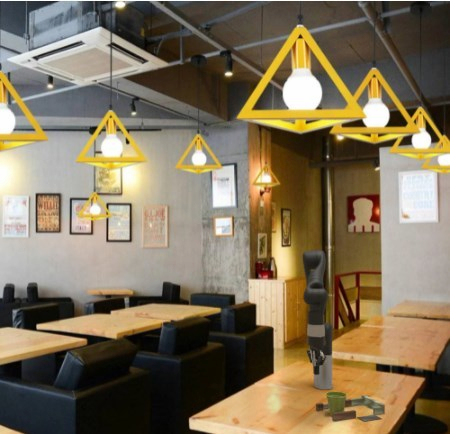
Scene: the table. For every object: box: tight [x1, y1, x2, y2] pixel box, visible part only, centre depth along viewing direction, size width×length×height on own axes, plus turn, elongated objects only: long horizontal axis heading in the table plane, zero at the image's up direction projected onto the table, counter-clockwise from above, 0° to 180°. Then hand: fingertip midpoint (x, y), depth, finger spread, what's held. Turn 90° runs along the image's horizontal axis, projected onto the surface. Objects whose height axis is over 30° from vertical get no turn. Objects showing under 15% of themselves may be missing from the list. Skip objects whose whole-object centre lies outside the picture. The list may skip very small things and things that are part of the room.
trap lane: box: [315, 394, 386, 423], centre depth 233 cm, size 25×26×4 cm
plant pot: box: [325, 390, 348, 416], centre depth 230 cm, size 9×9×9 cm
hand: (316, 374), depth 227 cm, fingers closed
